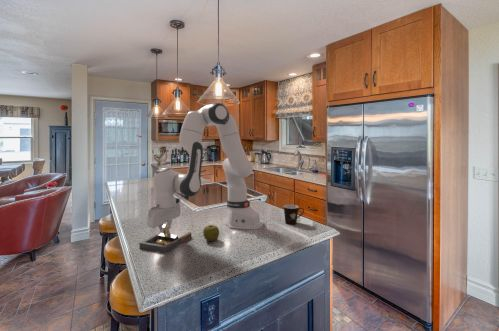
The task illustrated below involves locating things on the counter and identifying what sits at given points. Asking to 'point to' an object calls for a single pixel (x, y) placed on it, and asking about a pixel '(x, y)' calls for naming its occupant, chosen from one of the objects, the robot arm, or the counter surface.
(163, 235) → the grey post with peg
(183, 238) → the walnut slot rails
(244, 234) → the counter surface
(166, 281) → the counter surface
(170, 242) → the brass chip
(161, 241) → the brass chip
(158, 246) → the grey angled bracket
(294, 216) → the coffee mug
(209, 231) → the apple
